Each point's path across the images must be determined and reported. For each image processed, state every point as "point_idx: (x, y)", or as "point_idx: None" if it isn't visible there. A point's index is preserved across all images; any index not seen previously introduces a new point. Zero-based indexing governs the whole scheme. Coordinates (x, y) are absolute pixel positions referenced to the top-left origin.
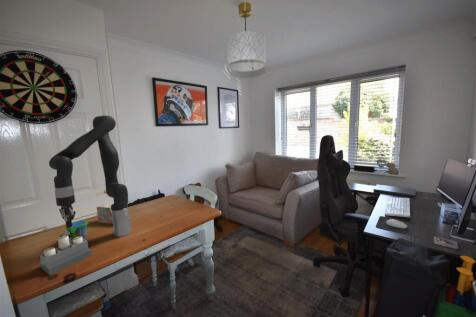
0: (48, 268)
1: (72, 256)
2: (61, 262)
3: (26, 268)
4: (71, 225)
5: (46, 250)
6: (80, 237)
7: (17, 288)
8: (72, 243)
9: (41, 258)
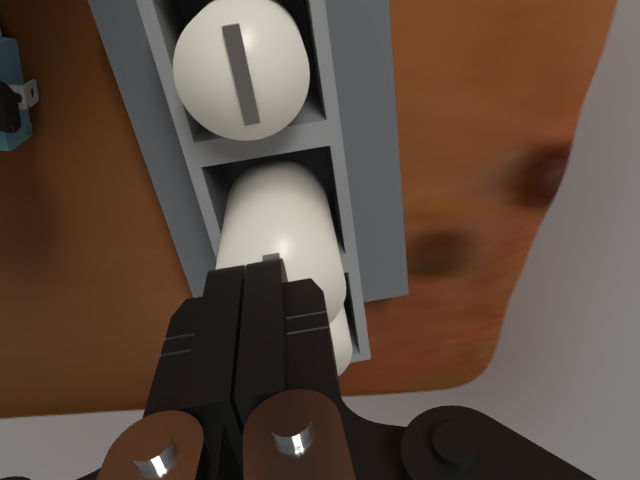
0: (391, 295)
1: (357, 132)
2: (384, 220)
3: (146, 351)
4: (323, 297)
5: None
6: (239, 32)
7: (377, 384)
8: (190, 116)
9: None
